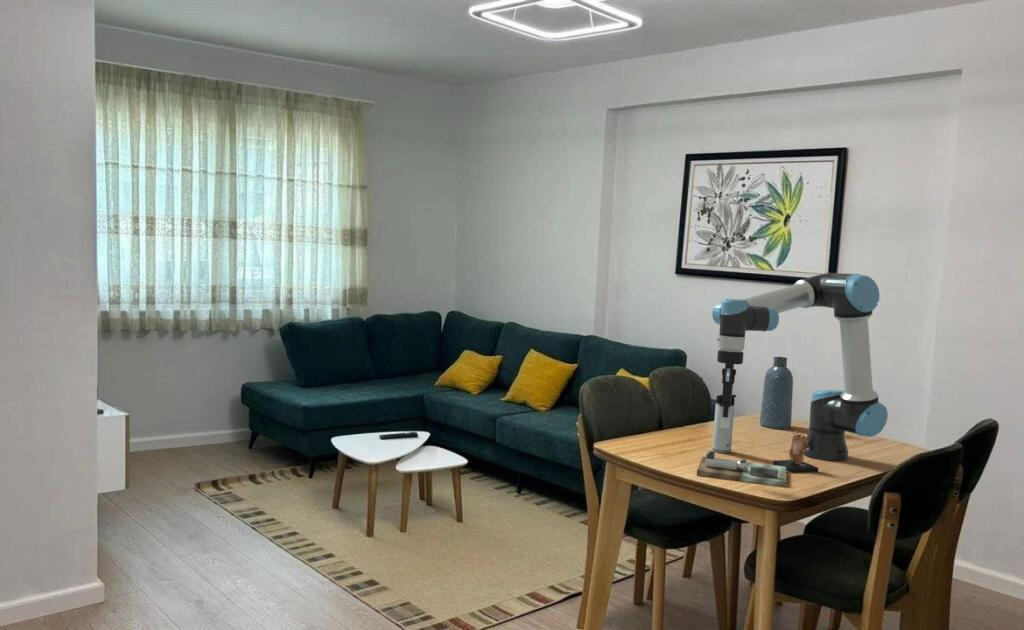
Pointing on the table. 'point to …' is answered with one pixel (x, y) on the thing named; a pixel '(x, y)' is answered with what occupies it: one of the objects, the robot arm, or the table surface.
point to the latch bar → (725, 462)
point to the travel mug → (722, 429)
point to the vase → (777, 396)
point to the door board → (747, 473)
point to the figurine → (797, 456)
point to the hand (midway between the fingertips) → (724, 427)
